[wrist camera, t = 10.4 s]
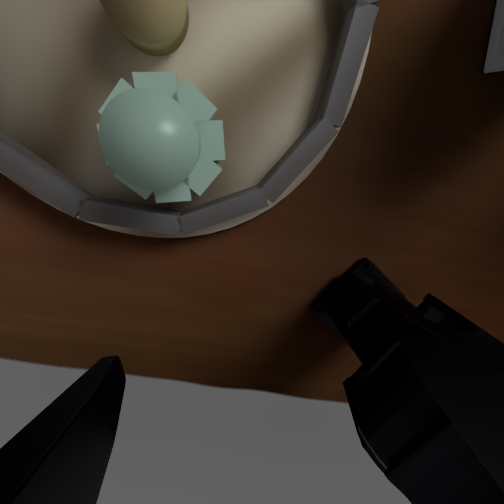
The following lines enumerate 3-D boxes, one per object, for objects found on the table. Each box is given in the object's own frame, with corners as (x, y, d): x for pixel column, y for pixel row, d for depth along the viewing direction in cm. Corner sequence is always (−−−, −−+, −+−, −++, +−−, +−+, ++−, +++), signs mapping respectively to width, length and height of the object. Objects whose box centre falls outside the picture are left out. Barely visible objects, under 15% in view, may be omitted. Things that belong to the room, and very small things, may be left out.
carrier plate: (439, 26, 16) (496, -4, 13) (195, 291, 21) (192, 319, 17) (42, -763, 7) (-94, -1497, 4) (-231, 13, 12) (-396, -35, 8)
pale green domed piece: (242, 140, 16) (259, 138, 10) (181, 212, 17) (168, 245, 12) (158, 55, 14) (124, -3, 8) (95, 145, 15) (28, 147, 9)
